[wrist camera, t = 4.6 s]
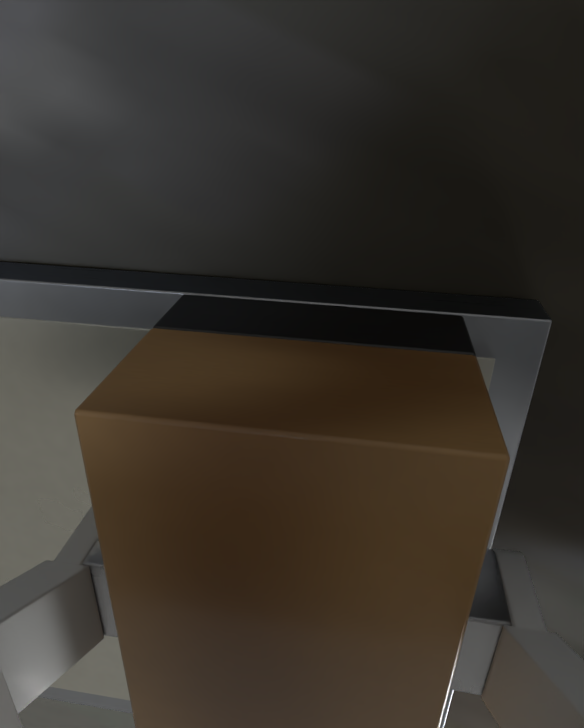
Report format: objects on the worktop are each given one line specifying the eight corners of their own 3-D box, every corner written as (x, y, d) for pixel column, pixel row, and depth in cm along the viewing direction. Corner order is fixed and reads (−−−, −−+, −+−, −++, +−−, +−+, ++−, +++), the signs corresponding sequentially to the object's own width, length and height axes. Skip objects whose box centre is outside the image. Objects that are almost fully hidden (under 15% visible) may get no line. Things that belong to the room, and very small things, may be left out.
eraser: (464, 314, 9) (513, 458, 6) (402, 651, 13) (409, 851, 10) (182, 293, 10) (70, 410, 6) (207, 621, 14) (148, 800, 11)
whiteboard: (538, 298, 10) (554, 321, 9) (431, 730, 17) (434, 769, 16) (-372, 234, 12) (-432, 246, 12) (-152, 632, 19) (-180, 661, 18)
